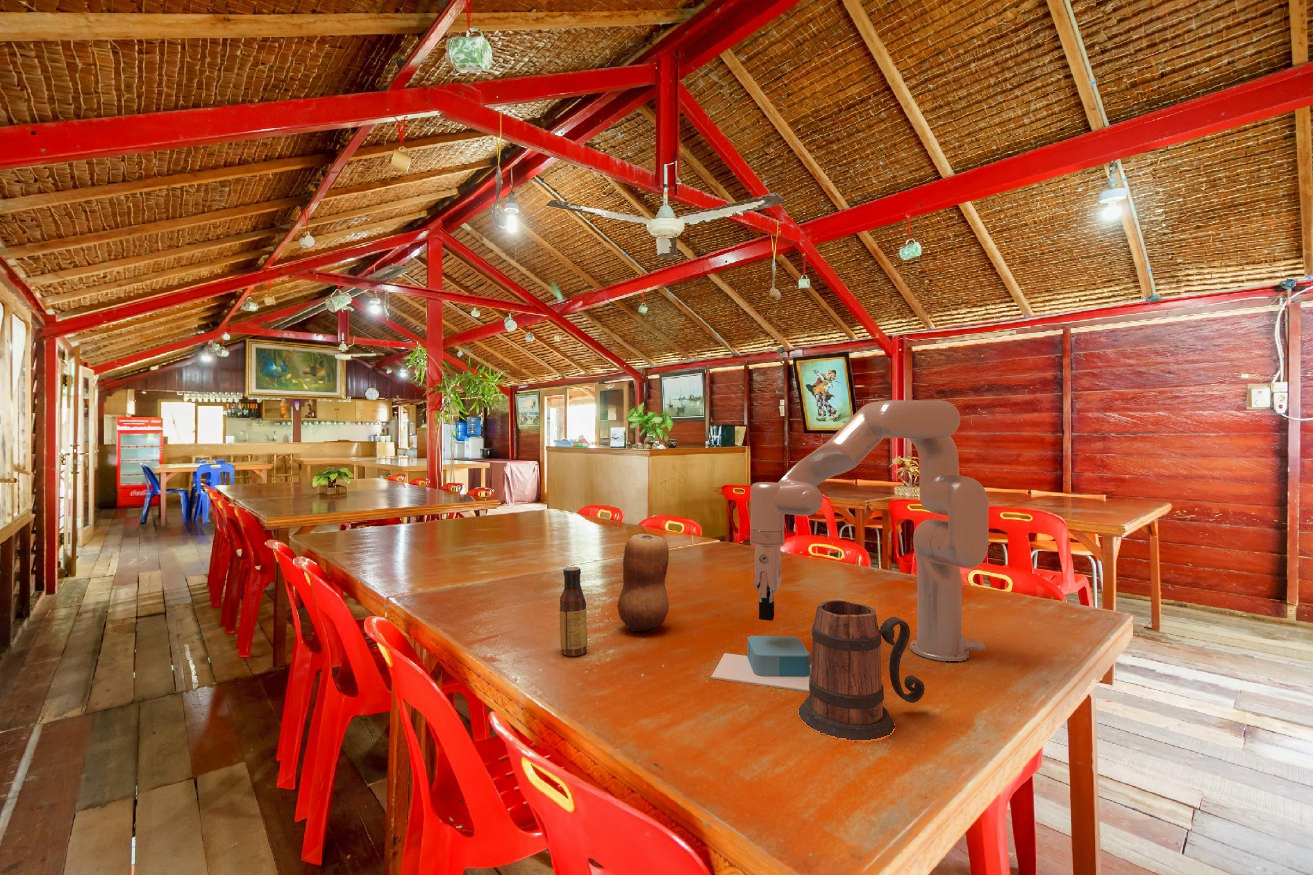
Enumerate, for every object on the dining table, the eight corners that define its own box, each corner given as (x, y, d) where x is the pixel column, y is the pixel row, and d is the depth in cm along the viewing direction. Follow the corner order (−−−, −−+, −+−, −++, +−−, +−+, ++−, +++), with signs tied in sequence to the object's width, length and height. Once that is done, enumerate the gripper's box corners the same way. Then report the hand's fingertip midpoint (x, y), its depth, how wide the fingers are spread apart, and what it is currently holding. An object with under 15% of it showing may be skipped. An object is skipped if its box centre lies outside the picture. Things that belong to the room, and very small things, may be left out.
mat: (813, 666, 127) (813, 664, 127) (809, 692, 114) (809, 690, 114) (724, 654, 133) (724, 653, 133) (711, 678, 120) (711, 676, 120)
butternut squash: (663, 640, 143) (663, 540, 143) (611, 636, 145) (612, 538, 145) (672, 623, 156) (673, 532, 156) (625, 619, 159) (626, 530, 159)
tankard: (822, 746, 94) (822, 624, 94) (783, 700, 110) (784, 596, 110) (951, 735, 97) (952, 618, 97) (895, 692, 114) (895, 592, 114)
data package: (746, 654, 132) (754, 676, 120) (746, 635, 132) (754, 654, 120) (798, 655, 132) (811, 676, 120) (798, 635, 132) (811, 655, 120)
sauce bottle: (592, 650, 135) (592, 567, 135) (577, 659, 130) (578, 572, 130) (569, 646, 138) (569, 564, 138) (553, 654, 132) (554, 569, 133)
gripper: (780, 544, 120) (779, 631, 119) (787, 533, 134) (786, 611, 134) (744, 541, 122) (744, 627, 122) (755, 531, 136) (754, 608, 136)
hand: (766, 618), depth 128 cm, fingers closed
